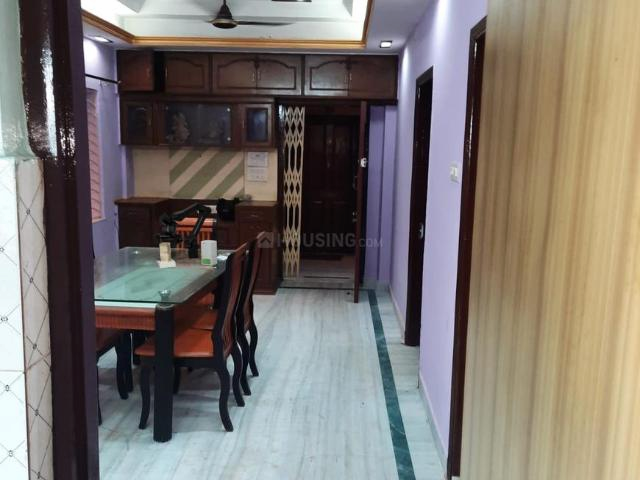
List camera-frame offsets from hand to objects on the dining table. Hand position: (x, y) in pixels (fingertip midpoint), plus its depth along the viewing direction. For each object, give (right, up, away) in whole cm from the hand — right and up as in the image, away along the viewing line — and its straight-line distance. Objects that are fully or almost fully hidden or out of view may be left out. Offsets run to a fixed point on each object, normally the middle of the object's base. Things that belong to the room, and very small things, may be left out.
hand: (166, 248), depth 359 cm
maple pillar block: (0, -9, 0) cm, 9 cm away
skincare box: (+28, -11, +2) cm, 30 cm away
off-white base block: (0, -11, +1) cm, 12 cm away
